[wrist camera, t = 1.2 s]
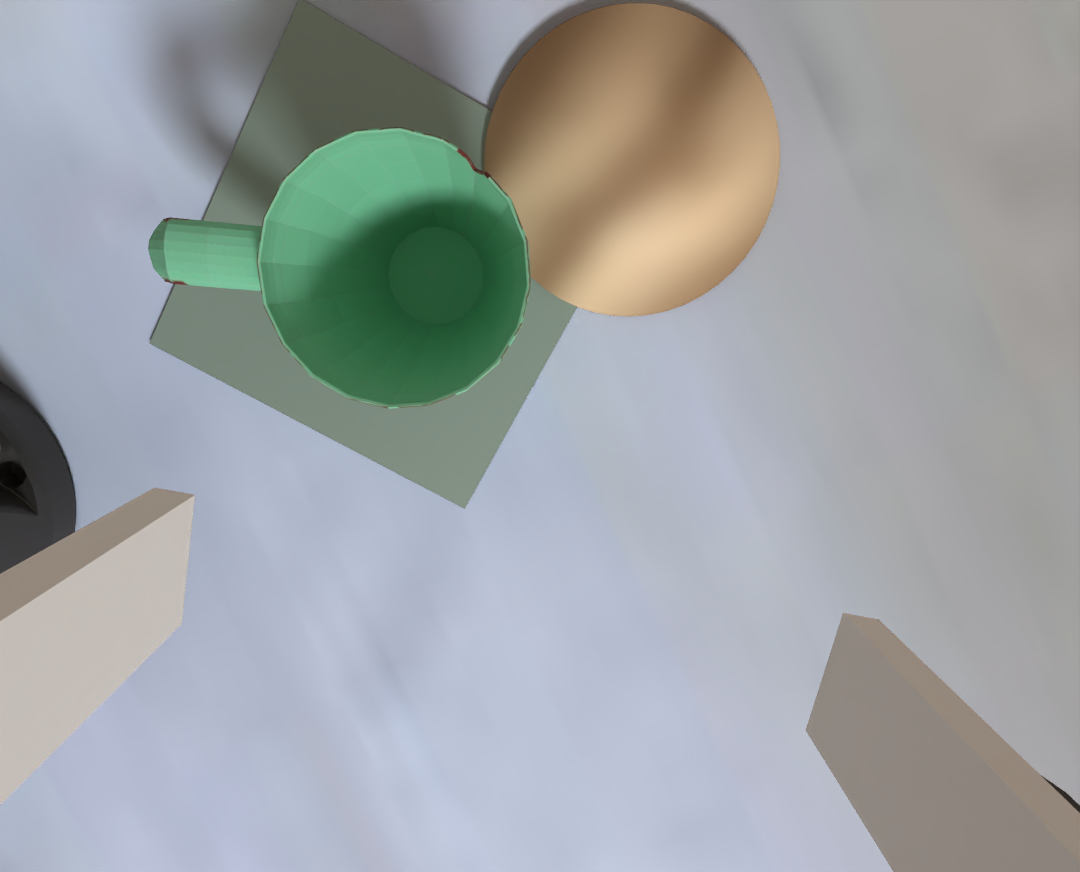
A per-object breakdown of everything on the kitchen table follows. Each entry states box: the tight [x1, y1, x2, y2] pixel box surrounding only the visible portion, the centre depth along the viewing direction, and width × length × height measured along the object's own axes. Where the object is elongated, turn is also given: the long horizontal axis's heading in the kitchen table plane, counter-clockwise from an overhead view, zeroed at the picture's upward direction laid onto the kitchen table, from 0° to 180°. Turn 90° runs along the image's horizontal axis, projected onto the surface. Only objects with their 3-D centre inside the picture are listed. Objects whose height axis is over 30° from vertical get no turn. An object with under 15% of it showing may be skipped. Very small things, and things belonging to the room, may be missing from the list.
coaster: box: [484, 3, 780, 316], centre depth 34 cm, size 14×14×1 cm
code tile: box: [150, 0, 577, 509], centre depth 35 cm, size 18×18×1 cm
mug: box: [148, 127, 532, 409], centre depth 30 cm, size 15×10×10 cm
